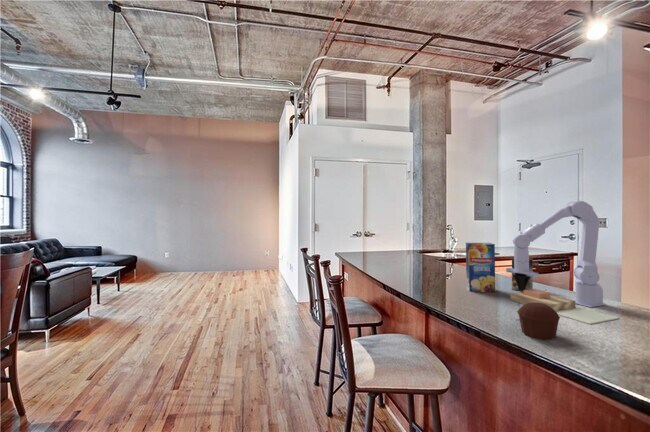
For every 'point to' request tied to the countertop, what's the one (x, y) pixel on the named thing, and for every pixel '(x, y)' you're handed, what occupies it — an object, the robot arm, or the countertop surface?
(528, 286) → the coffee box
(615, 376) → the countertop surface
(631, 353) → the countertop surface
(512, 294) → the board
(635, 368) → the countertop surface
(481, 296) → the countertop surface
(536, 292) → the coaster
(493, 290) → the juice carton
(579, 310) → the placemat
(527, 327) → the muffin
